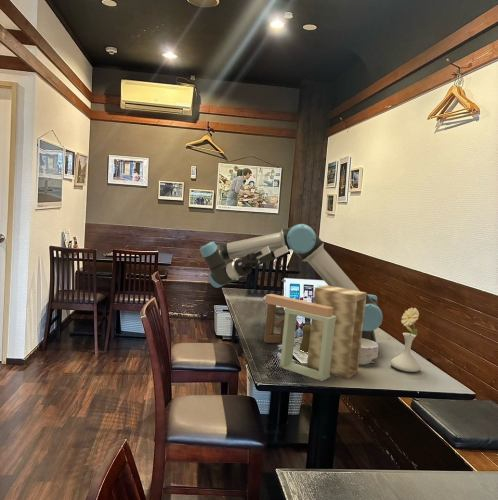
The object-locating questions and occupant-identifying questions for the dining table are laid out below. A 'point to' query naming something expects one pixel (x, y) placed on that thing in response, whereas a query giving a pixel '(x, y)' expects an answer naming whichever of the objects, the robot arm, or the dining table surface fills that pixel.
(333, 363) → the birch stand
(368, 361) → the paper bowls
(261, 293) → the dining table surface
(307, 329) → the cork
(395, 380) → the dining table surface
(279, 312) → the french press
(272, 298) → the salmon orange bar
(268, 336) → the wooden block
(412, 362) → the flower in vase
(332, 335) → the pale green rectangular frame
